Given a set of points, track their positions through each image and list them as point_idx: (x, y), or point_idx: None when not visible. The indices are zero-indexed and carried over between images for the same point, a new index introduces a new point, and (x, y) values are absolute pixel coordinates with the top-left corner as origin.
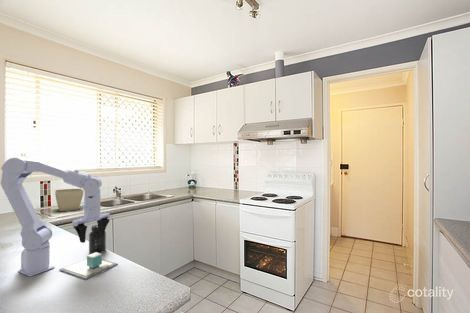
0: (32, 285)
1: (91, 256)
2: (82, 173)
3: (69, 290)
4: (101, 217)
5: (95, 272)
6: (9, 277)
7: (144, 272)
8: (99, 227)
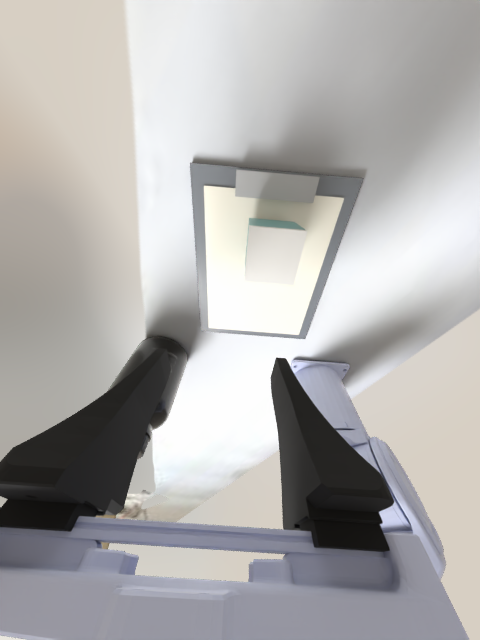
0: (396, 320)
1: (298, 250)
2: None
3: (460, 150)
4: (62, 597)
5: (313, 176)
6: (351, 392)
7: None
8: (142, 424)
